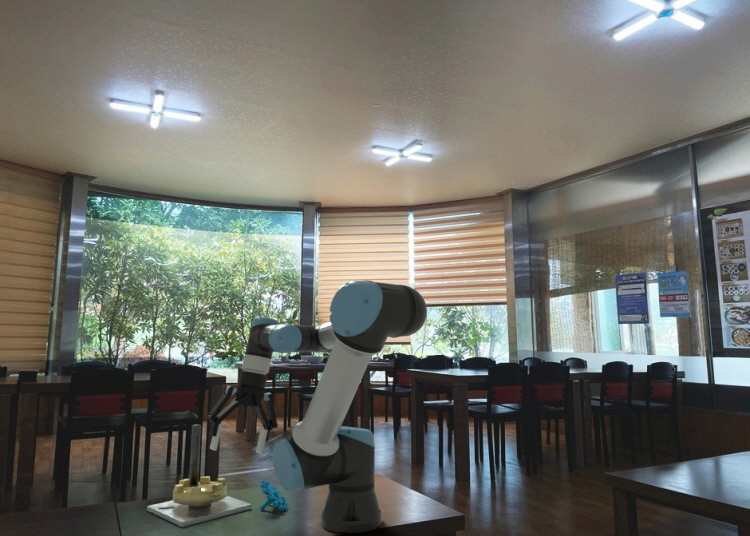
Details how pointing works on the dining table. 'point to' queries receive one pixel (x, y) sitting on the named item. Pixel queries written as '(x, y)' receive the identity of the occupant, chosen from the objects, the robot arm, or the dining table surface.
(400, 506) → the dining table surface
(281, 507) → the gear
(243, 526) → the dining table surface
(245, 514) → the dining table surface
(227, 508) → the white square base plate
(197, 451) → the gold toothed rod mount
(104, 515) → the dining table surface
